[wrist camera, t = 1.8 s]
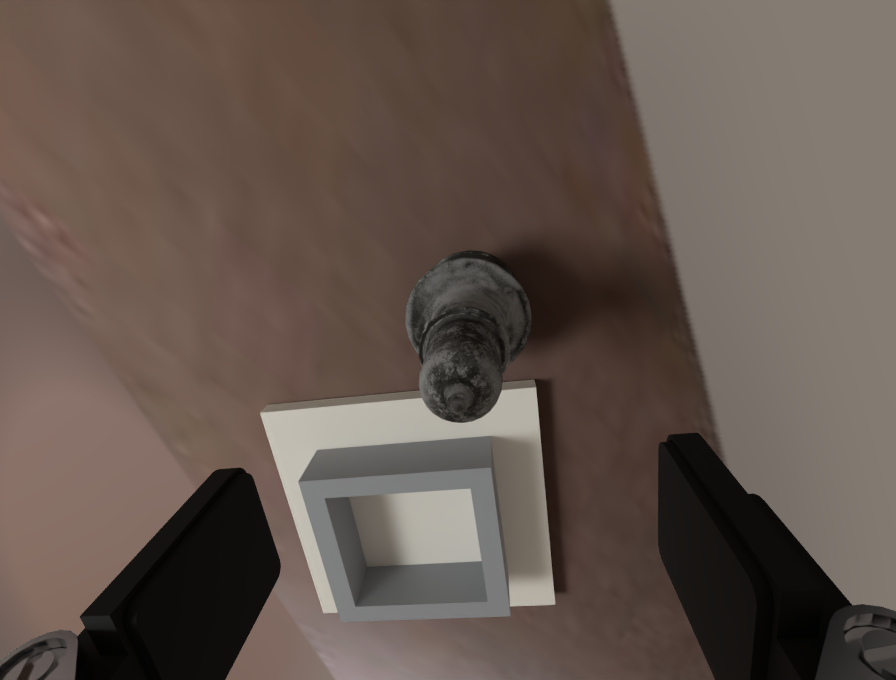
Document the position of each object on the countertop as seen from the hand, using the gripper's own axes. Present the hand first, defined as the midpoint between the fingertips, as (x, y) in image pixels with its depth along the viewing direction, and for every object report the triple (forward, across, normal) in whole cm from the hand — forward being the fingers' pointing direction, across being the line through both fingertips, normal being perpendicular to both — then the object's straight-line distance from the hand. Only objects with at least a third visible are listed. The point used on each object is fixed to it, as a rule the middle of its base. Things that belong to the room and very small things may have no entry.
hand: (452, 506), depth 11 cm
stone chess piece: (+16, 0, -1) cm, 16 cm away
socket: (+16, +5, +12) cm, 21 cm away
